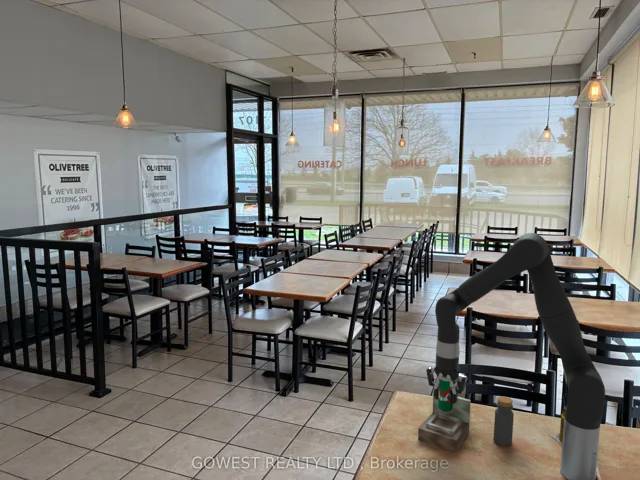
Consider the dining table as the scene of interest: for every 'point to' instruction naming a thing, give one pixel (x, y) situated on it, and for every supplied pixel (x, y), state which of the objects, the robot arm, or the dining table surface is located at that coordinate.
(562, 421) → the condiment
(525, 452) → the dining table surface
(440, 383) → the soda can
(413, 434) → the dining table surface
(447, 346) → the robot arm
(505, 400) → the bottle
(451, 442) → the display stand
